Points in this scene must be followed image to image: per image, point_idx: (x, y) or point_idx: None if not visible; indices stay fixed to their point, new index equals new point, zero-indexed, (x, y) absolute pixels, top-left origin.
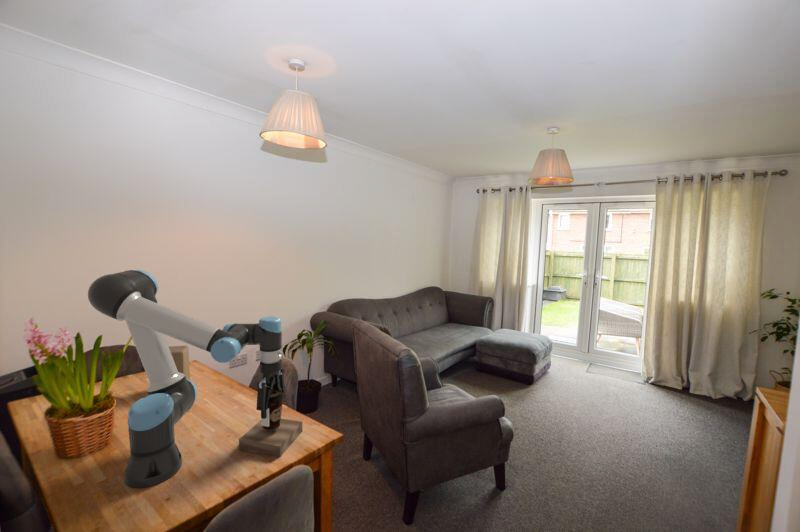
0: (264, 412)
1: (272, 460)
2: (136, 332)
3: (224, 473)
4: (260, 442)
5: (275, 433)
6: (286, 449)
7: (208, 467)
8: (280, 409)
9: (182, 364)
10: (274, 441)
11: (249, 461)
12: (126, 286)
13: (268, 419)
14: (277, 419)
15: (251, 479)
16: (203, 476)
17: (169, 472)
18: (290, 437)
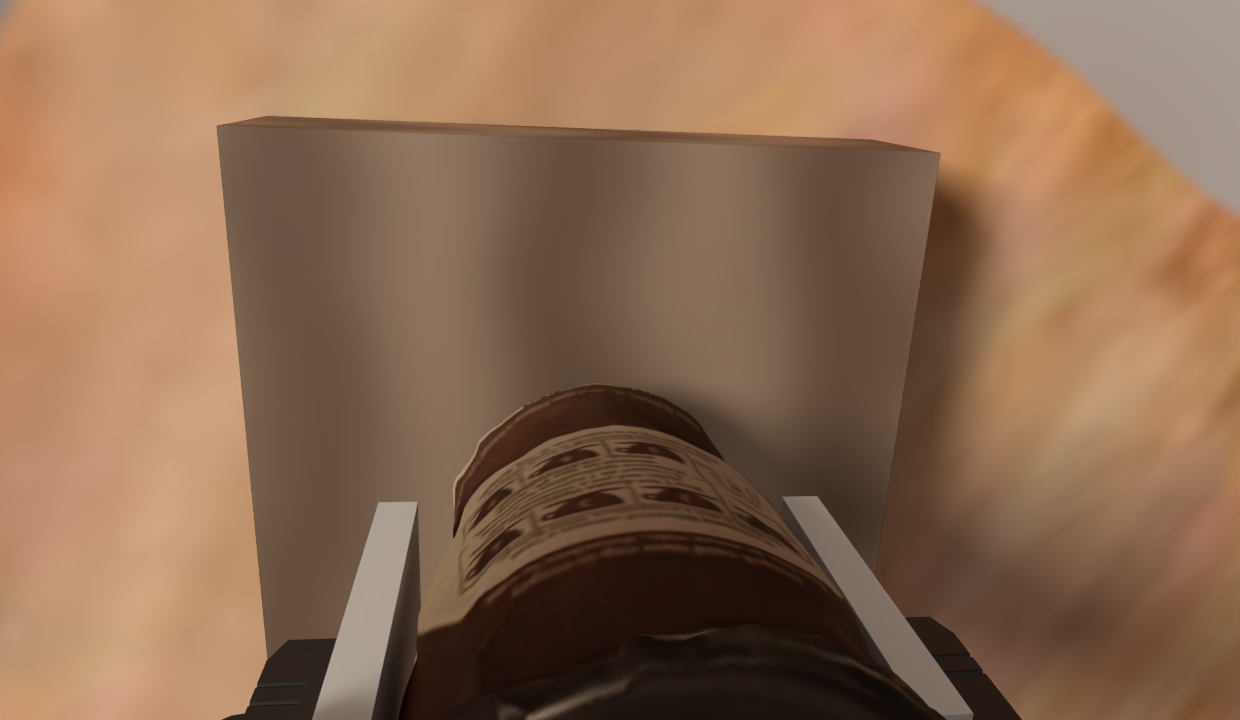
0: (1015, 716)
1: (936, 200)
2: None
3: (1147, 541)
4: (884, 455)
5: (656, 380)
6: (727, 134)
7: (1072, 713)
8: (657, 499)
9: None
10: (844, 289)
11: (971, 432)
12: None
13: (853, 562)
14: (681, 444)
15: (1232, 251)
16: (1182, 672)
17: None
18: (634, 139)
